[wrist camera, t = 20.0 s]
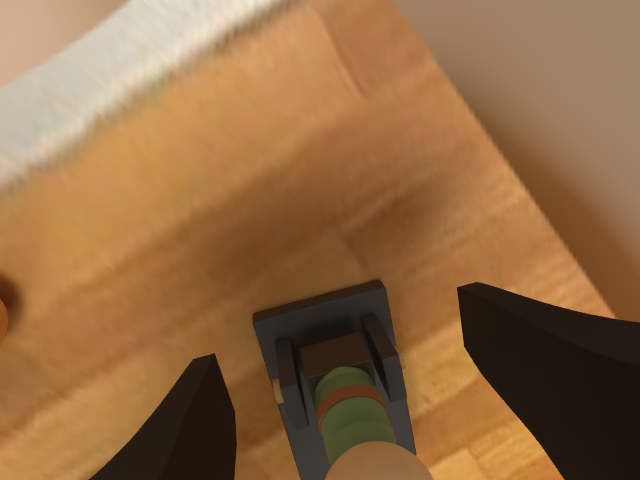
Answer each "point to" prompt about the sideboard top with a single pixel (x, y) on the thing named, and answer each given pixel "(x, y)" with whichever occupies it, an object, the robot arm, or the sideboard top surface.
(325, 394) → the peg doll
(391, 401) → the toy stand
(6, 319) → the figurine
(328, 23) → the sideboard top surface
